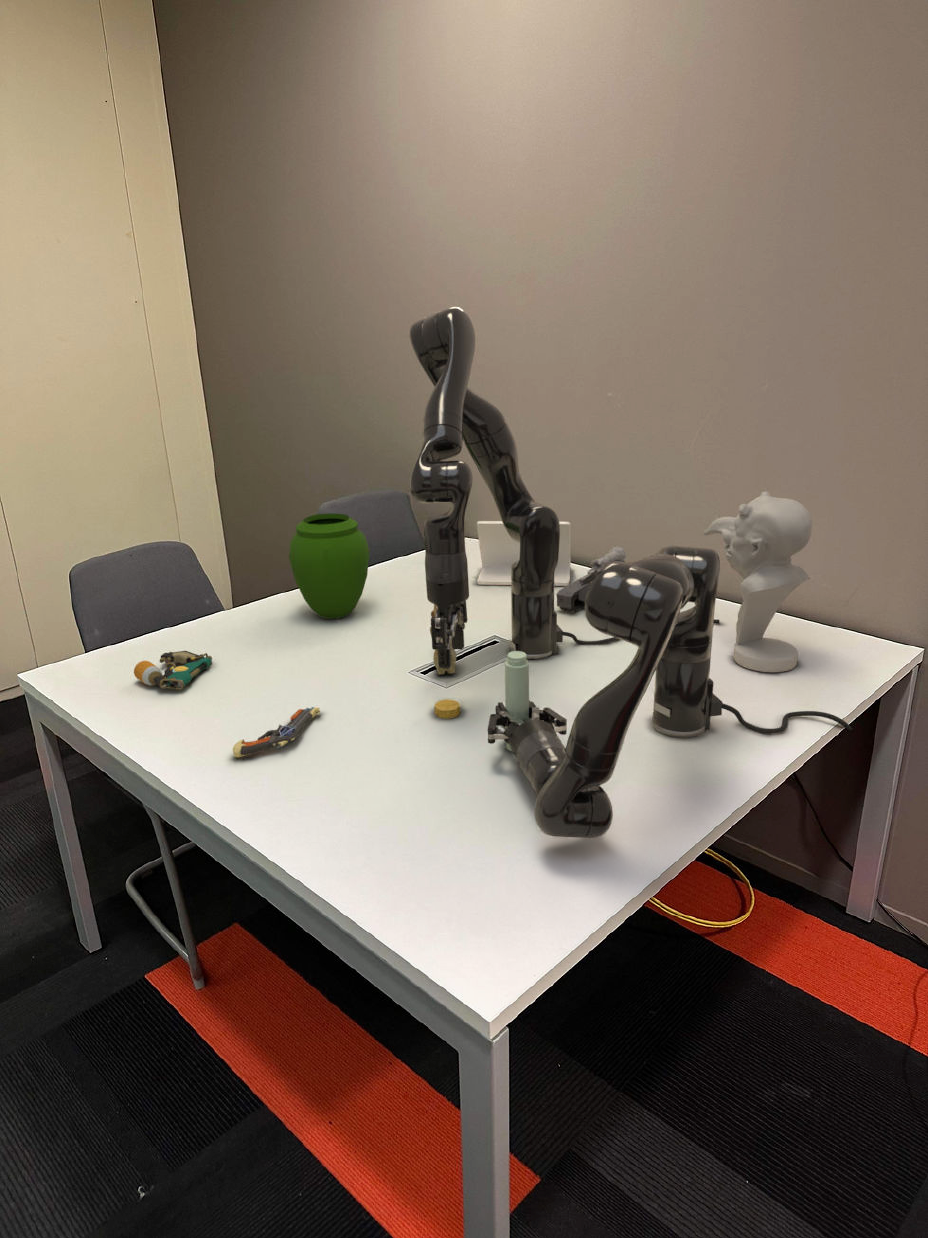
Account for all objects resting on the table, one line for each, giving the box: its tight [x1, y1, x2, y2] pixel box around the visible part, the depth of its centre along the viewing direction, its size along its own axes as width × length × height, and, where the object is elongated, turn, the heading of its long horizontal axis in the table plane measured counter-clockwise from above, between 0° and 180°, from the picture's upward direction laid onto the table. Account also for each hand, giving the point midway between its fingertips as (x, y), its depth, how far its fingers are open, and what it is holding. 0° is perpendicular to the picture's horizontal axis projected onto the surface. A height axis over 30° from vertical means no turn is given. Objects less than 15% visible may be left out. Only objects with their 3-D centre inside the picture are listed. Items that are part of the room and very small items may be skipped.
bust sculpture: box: [702, 491, 813, 673], centre depth 177 cm, size 16×24×35 cm, turn 28°
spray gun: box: [133, 650, 213, 690], centre depth 180 cm, size 4×17×15 cm
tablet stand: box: [476, 520, 572, 587], centre depth 236 cm, size 18×25×17 cm
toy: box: [556, 546, 627, 613], centre depth 212 cm, size 25×20×15 cm
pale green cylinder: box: [504, 651, 530, 752], centre depth 145 cm, size 4×4×18 cm
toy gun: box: [232, 706, 321, 758], centre depth 154 cm, size 3×19×10 cm
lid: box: [434, 699, 461, 720], centre depth 161 cm, size 5×5×2 cm
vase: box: [288, 512, 370, 620], centre depth 209 cm, size 20×20×24 cm
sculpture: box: [429, 604, 457, 675], centre depth 177 cm, size 6×7×15 cm
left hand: (451, 657), depth 157 cm, fingers open, 8 cm apart
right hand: (513, 705), depth 149 cm, fingers closed on pale green cylinder, 4 cm apart
